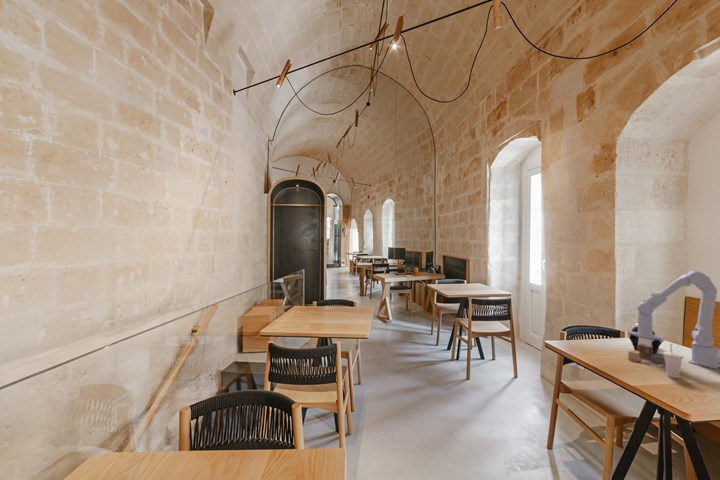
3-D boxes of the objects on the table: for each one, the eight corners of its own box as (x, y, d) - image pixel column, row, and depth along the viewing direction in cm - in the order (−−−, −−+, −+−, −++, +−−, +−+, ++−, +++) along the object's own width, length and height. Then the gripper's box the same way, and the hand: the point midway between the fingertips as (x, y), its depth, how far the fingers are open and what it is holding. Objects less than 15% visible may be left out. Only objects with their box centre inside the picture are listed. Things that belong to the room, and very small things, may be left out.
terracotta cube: (639, 359, 168) (639, 351, 168) (638, 361, 165) (638, 353, 165) (629, 357, 171) (629, 349, 171) (628, 359, 168) (628, 351, 168)
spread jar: (647, 343, 194) (647, 323, 194) (663, 350, 182) (663, 328, 182) (625, 343, 195) (625, 322, 195) (639, 349, 184) (639, 327, 184)
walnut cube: (653, 356, 173) (653, 346, 173) (649, 357, 171) (649, 347, 171) (641, 353, 178) (641, 343, 178) (637, 354, 175) (637, 345, 175)
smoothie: (662, 372, 152) (662, 341, 152) (682, 375, 148) (682, 343, 148) (663, 376, 147) (663, 344, 147) (683, 380, 143) (683, 347, 143)
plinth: (675, 364, 163) (675, 356, 163) (670, 367, 159) (669, 359, 159) (657, 359, 169) (657, 352, 169) (651, 362, 165) (651, 355, 165)
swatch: (663, 364, 161) (663, 364, 161) (657, 367, 158) (657, 366, 158) (646, 360, 167) (646, 359, 167) (639, 363, 163) (639, 362, 163)
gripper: (666, 328, 170) (666, 355, 170) (631, 322, 182) (632, 347, 182) (660, 330, 166) (660, 357, 166) (625, 323, 179) (625, 349, 179)
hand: (645, 352), depth 174 cm, fingers open, 7 cm apart
